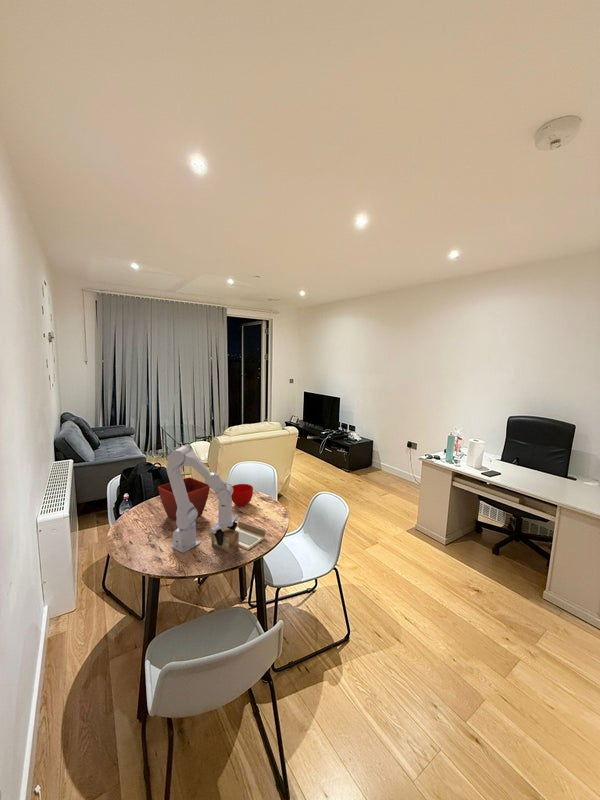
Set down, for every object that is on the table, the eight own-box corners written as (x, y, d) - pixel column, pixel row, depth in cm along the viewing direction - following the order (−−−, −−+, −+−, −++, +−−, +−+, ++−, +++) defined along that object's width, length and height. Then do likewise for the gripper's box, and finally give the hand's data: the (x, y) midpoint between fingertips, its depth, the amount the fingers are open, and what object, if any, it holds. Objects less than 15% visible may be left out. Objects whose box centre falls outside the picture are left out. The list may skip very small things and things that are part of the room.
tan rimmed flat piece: (248, 550, 141) (248, 541, 140) (221, 539, 149) (221, 530, 149) (265, 538, 151) (265, 529, 151) (239, 528, 159) (239, 520, 159)
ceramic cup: (222, 501, 190) (222, 485, 189) (251, 499, 195) (251, 483, 194) (223, 511, 178) (223, 493, 177) (254, 508, 182) (254, 491, 181)
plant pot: (178, 529, 157) (178, 496, 155) (157, 517, 168) (157, 486, 166) (210, 515, 172) (210, 485, 170) (189, 505, 183) (189, 476, 181)
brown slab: (231, 554, 138) (231, 536, 137) (211, 545, 144) (211, 528, 143) (238, 549, 141) (238, 532, 141) (218, 541, 148) (218, 524, 147)
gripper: (219, 521, 133) (219, 552, 134) (243, 508, 145) (242, 537, 146) (207, 516, 136) (207, 547, 138) (231, 504, 149) (231, 532, 150)
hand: (224, 541), depth 142 cm, fingers open, 6 cm apart
